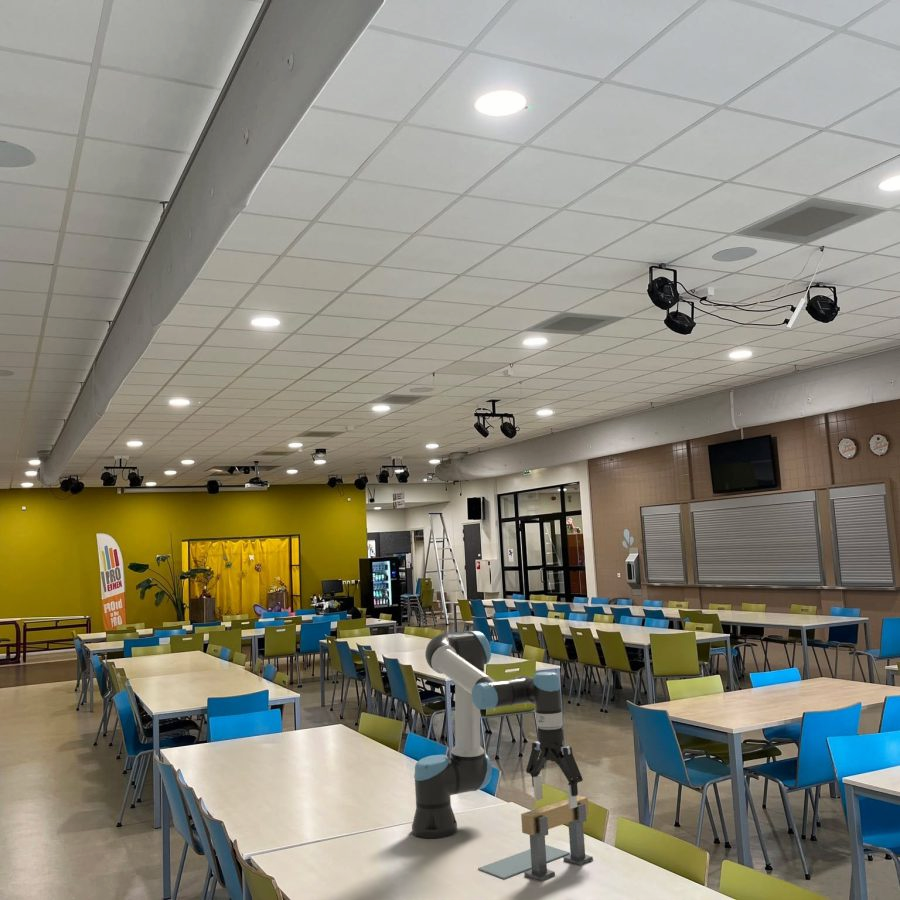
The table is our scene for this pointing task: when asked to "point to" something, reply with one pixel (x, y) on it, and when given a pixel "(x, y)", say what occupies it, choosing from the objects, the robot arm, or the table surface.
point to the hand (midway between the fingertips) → (555, 803)
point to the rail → (551, 815)
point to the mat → (519, 863)
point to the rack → (576, 857)
